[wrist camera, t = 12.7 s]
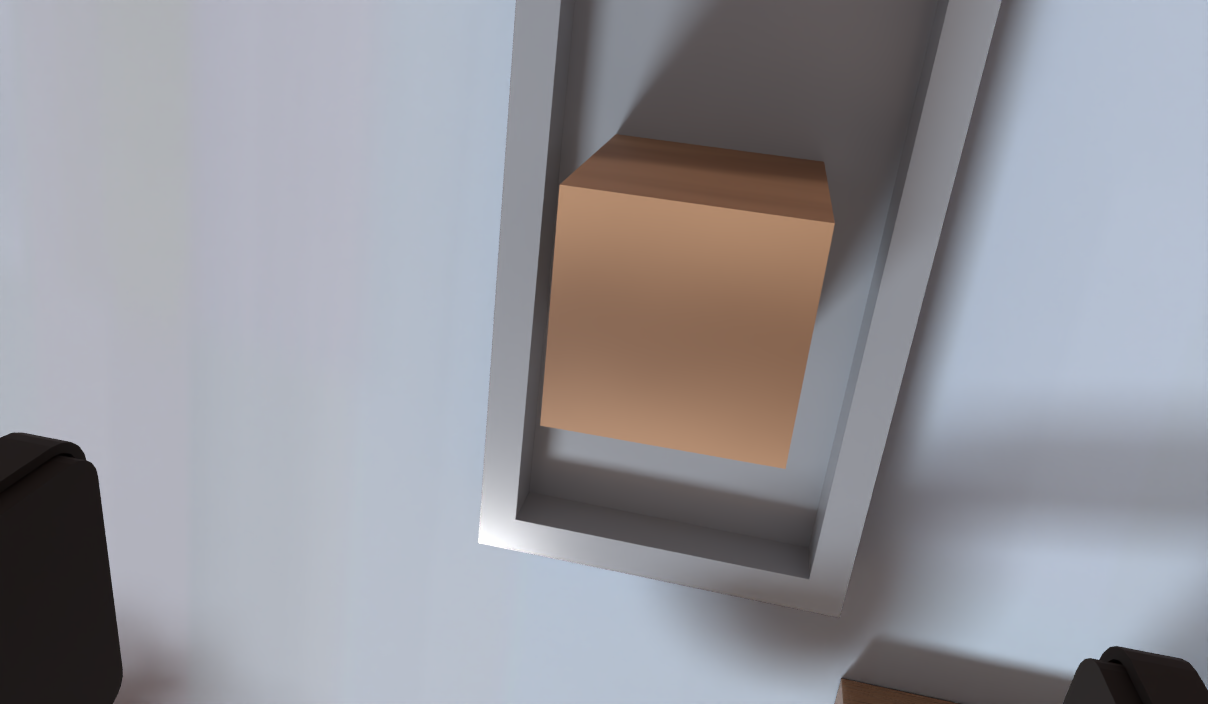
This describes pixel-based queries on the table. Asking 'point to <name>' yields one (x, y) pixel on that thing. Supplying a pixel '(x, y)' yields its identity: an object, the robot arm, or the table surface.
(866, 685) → the balance
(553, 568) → the table surface
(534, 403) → the dish low side
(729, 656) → the table surface
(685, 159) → the walnut block
